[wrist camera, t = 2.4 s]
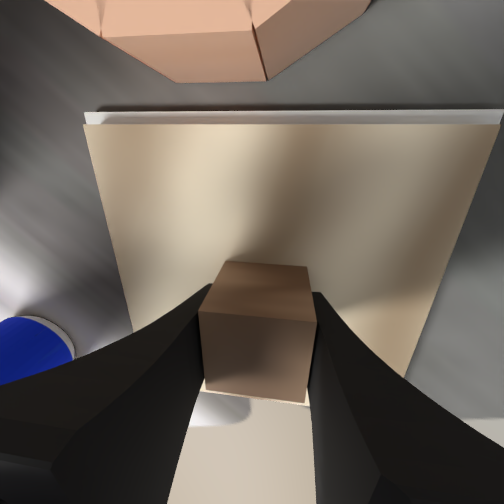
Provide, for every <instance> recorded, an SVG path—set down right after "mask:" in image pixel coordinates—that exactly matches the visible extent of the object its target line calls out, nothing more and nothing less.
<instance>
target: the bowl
mask: <svg viewBox="0 0 504 504" xmlns="http://www.w3.org/2000/svg"><path fill="white" fill-rule="evenodd" d="M45 1H46V2H48V3H49V4H51V5H52V6H54V7H55V8H57V9H58V10H60V11H61V12H63V13H65V14H66V15H68V16H69V17H71V18H72V19H74V20H75V21H77V22H78V23H80V24H81V25H83V26H84V27H86V28H87V29H89V30H90V31H92V32H93V33H95V34H96V35H98V36H99V37H101V38H103V39H104V40H106V41H108V42H109V43H111V44H113V45H114V46H116V47H118V48H119V49H121V50H123V51H124V52H126V53H127V54H129V55H131V56H132V57H134V58H136V59H137V60H139V61H141V62H142V63H144V64H146V65H147V66H149V67H151V68H152V69H154V70H155V71H157V72H159V73H160V74H162V75H164V76H165V77H167V78H169V79H170V80H172V81H174V82H176V83H208V82H254V81H266V76H267V78H268V80H270V79H271V78H273V77H274V76H276V75H277V74H278V73H280V72H281V71H283V70H284V69H286V68H287V67H288V66H290V65H291V64H293V63H294V62H295V61H297V60H298V59H300V58H301V57H303V56H304V55H305V54H307V53H308V52H310V51H311V50H312V49H314V48H315V47H317V46H318V45H320V44H321V43H322V42H324V41H325V40H327V39H328V38H330V37H331V36H332V35H334V34H335V33H337V32H338V31H339V30H341V29H342V28H344V27H345V26H347V25H348V24H349V23H351V22H352V21H354V20H355V19H356V18H358V17H359V16H361V15H362V14H363V13H364V11H366V9H367V7H368V6H369V4H370V2H371V1H372V0H45Z"/></svg>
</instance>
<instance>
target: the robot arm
mask: <svg viewBox="0 0 504 504" xmlns="http://www.w3.org/2000/svg"><path fill="white" fill-rule="evenodd" d="M212 284H213V283H208V284H207V285H205V286H204V287H203V288H201V289H200V290H199V291H197V292H196V293H195V294H193V295H192V296H191V297H189V298H188V299H186V300H185V301H184V302H182V303H181V304H180V305H178V306H177V307H175V308H174V309H172V310H171V311H169V312H168V313H166V314H165V315H163V316H161V317H160V318H158V319H157V320H155V321H154V322H152V323H150V324H149V325H147V326H145V327H143V328H142V329H140V330H138V331H136V332H134V333H132V334H130V335H129V336H127V337H125V338H123V339H120V340H118V341H116V342H114V343H112V344H110V345H107V346H105V347H103V348H101V349H99V350H97V351H94V352H92V353H90V354H87V355H85V356H82V357H80V358H77V359H75V360H72V361H70V362H67V363H65V364H62V365H59V366H57V367H54V368H51V369H48V370H46V371H43V372H40V373H37V374H34V375H31V376H28V377H25V378H21V379H18V380H15V381H12V382H9V383H6V384H3V385H0V504H167V501H168V497H169V493H170V489H171V486H172V482H173V478H174V474H175V471H176V467H177V463H178V460H179V456H180V453H181V449H182V446H183V442H184V439H185V435H186V432H187V429H188V425H189V422H190V418H191V415H192V412H193V408H194V405H195V402H196V400H197V397H198V394H199V391H200V389H201V386H202V384H203V381H204V379H205V376H204V366H203V356H202V346H201V336H200V326H199V316H198V310H199V308H200V306H201V304H202V303H203V301H204V299H205V297H206V295H207V293H208V292H209V290H210V288H211V286H212ZM311 292H312V291H311ZM312 297H313V303H314V308H315V314H316V319H317V326H316V332H315V339H314V345H313V352H312V358H311V364H310V371H309V377H308V384H307V390H308V397H309V404H310V411H311V420H312V433H313V449H314V467H315V485H316V503H317V504H504V448H503V447H501V446H500V445H499V444H497V443H495V442H494V441H492V440H491V439H489V438H487V437H486V436H484V435H482V434H481V433H479V432H478V431H476V430H475V429H473V428H472V427H470V426H469V425H467V424H466V423H464V422H463V421H462V420H460V419H459V418H457V417H456V416H454V415H453V414H451V413H450V412H448V411H447V410H446V409H444V408H443V407H441V406H440V405H438V404H437V403H436V402H434V401H433V400H432V399H430V398H429V397H427V396H426V395H425V394H423V393H422V392H421V391H419V390H418V389H417V388H416V387H414V386H413V385H412V384H411V383H409V382H408V381H407V380H405V379H404V378H403V377H402V376H400V375H399V374H398V373H397V372H395V371H394V370H393V369H392V368H391V367H390V366H388V365H387V364H386V363H385V362H384V361H383V360H382V359H381V358H379V357H378V356H377V355H376V354H375V353H374V352H373V351H372V350H371V349H370V348H369V347H368V346H367V345H365V343H364V342H363V341H362V340H361V339H360V338H359V337H358V336H357V335H356V334H355V333H354V332H353V331H352V330H351V329H350V328H349V326H348V325H347V324H346V323H345V322H344V321H343V319H342V318H341V317H340V316H339V315H338V313H337V312H336V311H335V310H334V308H333V307H332V306H331V305H330V303H329V302H328V301H327V299H326V298H325V297H324V295H323V294H322V293H321V292H312Z"/></svg>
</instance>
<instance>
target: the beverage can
mask: <svg viewBox="0 0 504 504" xmlns="http://www.w3.org/2000/svg"><path fill="white" fill-rule="evenodd" d="M74 355H75V350H74V346H73V343H72V341H71V340H70V338H69V337H68V335H67V334H66V333H65V332H64V331H63V330H62V329H61V328H60V327H58V326H57V325H55V324H54V323H52V322H50V321H48V320H46V319H43V318H40V317H36V316H18V317H11V318H7V319H5V320H3V321H2V322H0V385H3V384H6V383H9V382H12V381H15V380H18V379H21V378H25V377H28V376H31V375H34V374H37V373H40V372H43V371H46V370H48V369H51V368H54V367H57V366H59V365H62V364H65V363H67V362H70V361H72V360H74Z"/></svg>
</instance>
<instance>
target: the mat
mask: <svg viewBox="0 0 504 504" xmlns="http://www.w3.org/2000/svg"><path fill="white" fill-rule="evenodd" d="M503 113H504V109H472V110H327V111H181V112H84V115H85V119H86V123H87V124H500V121H501V118H502V116H503Z"/></svg>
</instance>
